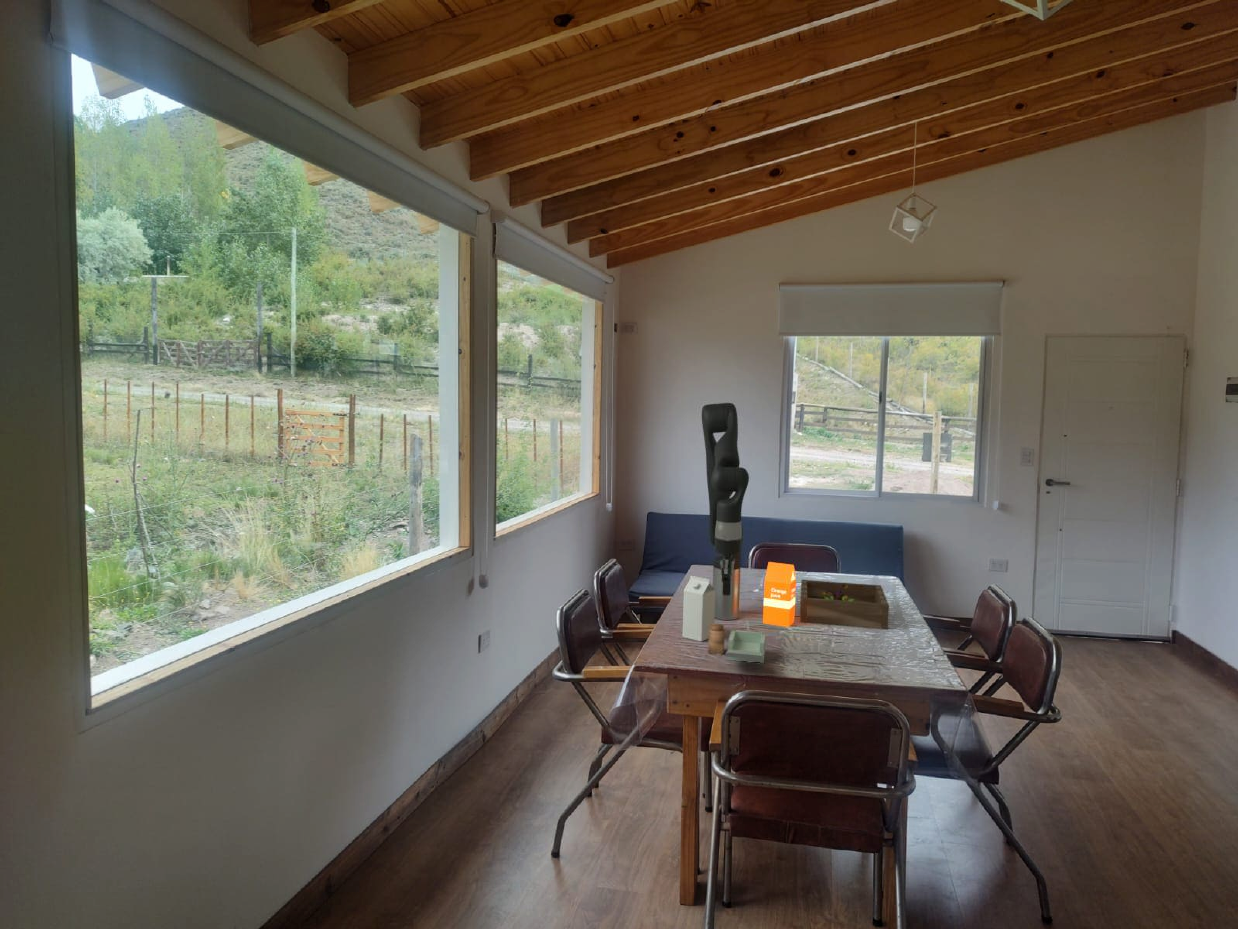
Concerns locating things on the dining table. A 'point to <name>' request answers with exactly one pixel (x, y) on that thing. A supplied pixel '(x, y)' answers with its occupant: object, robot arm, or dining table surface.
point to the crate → (747, 643)
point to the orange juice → (779, 594)
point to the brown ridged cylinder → (716, 639)
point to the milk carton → (698, 608)
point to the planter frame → (844, 605)
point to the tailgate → (744, 654)
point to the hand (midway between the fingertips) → (726, 594)
